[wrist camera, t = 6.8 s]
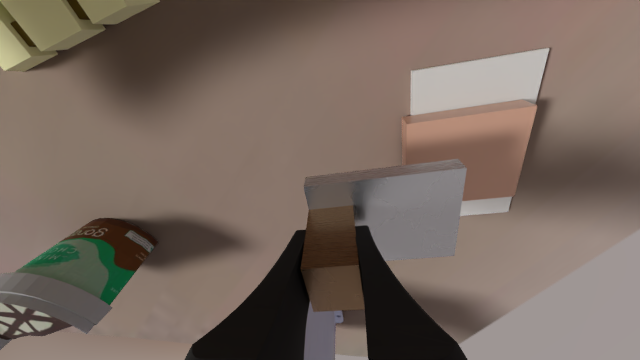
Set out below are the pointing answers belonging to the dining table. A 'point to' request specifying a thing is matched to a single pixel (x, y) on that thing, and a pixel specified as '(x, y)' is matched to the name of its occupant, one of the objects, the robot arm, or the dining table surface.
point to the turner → (377, 224)
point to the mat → (479, 95)
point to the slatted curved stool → (55, 26)
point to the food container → (72, 280)
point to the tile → (474, 144)
